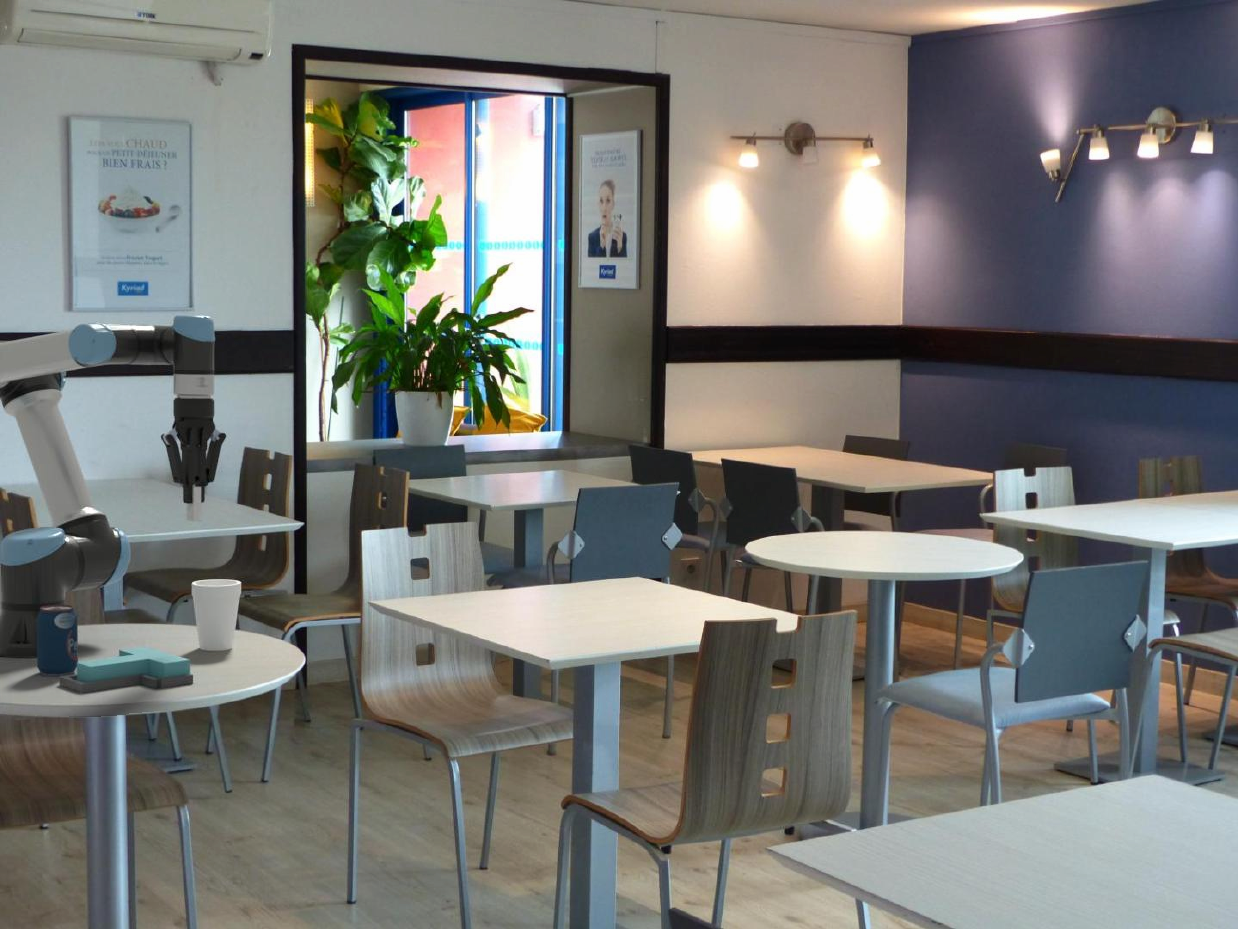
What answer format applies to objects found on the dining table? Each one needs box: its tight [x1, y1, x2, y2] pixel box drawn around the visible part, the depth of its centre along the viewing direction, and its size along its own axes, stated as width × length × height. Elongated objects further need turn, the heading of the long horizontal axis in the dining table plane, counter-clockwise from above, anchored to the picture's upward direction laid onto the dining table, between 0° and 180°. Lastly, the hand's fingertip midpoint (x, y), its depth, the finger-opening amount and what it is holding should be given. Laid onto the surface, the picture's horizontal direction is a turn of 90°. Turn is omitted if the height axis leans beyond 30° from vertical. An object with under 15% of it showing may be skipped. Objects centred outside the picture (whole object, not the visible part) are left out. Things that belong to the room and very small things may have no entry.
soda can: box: [36, 604, 79, 677], centre depth 279 cm, size 7×7×12 cm
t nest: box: [58, 673, 194, 694], centre depth 273 cm, size 18×19×2 cm
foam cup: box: [191, 578, 242, 652], centre depth 305 cm, size 10×9×13 cm
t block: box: [76, 646, 191, 682], centre depth 274 cm, size 16×16×4 cm
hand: (193, 520), depth 295 cm, fingers closed
